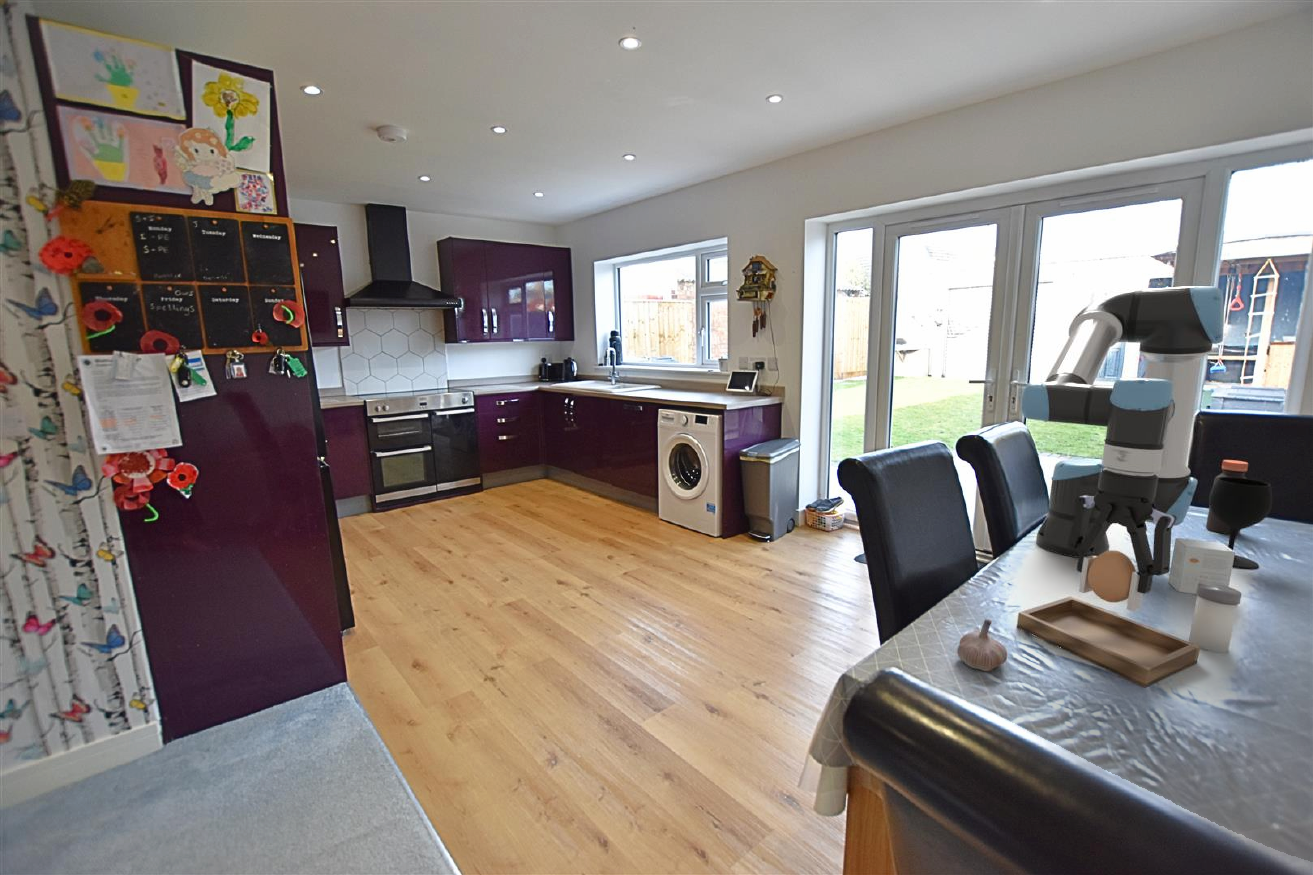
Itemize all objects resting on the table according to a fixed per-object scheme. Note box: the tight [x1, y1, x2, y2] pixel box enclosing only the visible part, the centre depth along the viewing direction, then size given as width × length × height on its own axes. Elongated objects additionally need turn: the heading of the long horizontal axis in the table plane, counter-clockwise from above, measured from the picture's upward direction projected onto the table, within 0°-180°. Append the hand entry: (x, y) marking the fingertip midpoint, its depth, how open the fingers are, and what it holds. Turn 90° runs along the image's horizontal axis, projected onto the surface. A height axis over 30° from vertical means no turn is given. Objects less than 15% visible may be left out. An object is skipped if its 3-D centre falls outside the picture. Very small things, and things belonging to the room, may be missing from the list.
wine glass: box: [1208, 477, 1274, 570], centre depth 134 cm, size 10×10×20 cm
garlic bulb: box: [956, 618, 1008, 672], centre depth 92 cm, size 8×7×8 cm
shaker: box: [1188, 582, 1243, 654], centre depth 98 cm, size 5×5×11 cm
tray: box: [1016, 596, 1201, 688], centre depth 99 cm, size 20×16×3 cm
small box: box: [1168, 537, 1236, 595], centre depth 119 cm, size 8×6×10 cm
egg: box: [1088, 550, 1138, 603], centre depth 96 cm, size 7×7×9 cm
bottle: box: [1205, 459, 1249, 535], centre depth 155 cm, size 7×7×20 cm
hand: (1108, 599), depth 97 cm, fingers closed on egg, 7 cm apart
